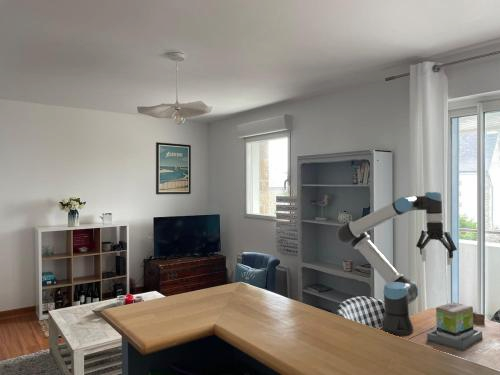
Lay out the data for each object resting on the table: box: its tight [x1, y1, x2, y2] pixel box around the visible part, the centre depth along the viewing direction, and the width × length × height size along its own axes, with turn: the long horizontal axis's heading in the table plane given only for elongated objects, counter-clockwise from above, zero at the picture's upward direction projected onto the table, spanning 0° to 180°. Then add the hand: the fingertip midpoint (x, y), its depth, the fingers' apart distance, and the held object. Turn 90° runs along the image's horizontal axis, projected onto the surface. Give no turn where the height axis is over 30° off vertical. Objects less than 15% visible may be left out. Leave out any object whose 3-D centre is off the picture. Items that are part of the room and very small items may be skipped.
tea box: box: [435, 301, 475, 342], centre depth 179 cm, size 15×10×15 cm
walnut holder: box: [473, 311, 486, 325], centre depth 197 cm, size 12×19×5 cm, turn 127°
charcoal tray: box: [426, 327, 483, 352], centre depth 179 cm, size 16×21×4 cm
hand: (436, 262), depth 194 cm, fingers open, 13 cm apart
